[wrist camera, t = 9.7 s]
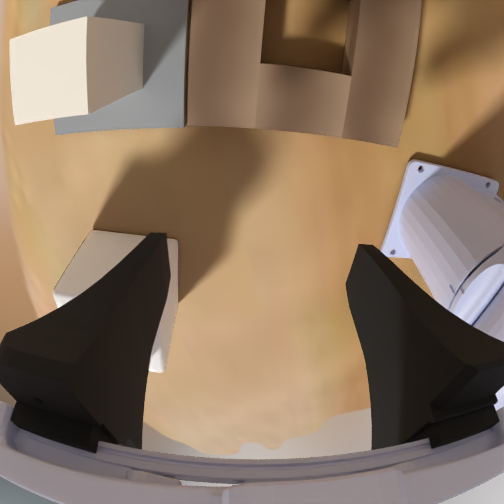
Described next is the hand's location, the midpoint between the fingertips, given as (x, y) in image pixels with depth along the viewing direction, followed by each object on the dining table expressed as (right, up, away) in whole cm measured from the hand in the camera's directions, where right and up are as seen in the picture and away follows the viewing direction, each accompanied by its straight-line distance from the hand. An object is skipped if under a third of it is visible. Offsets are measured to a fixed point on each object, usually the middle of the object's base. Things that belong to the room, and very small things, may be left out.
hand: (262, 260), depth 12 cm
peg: (-8, +11, +3) cm, 14 cm away
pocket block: (+3, +13, +2) cm, 13 cm away
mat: (-9, +12, +3) cm, 15 cm away
